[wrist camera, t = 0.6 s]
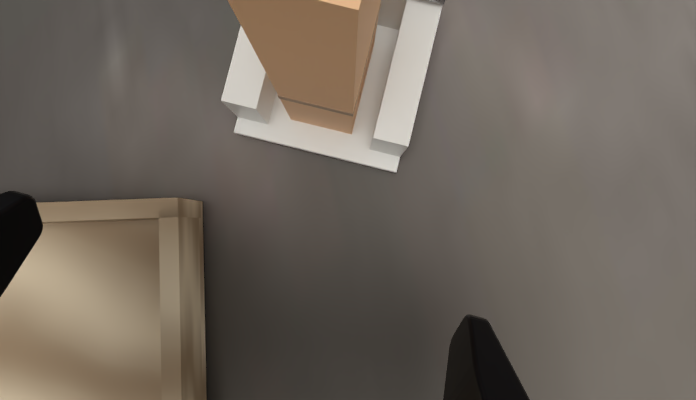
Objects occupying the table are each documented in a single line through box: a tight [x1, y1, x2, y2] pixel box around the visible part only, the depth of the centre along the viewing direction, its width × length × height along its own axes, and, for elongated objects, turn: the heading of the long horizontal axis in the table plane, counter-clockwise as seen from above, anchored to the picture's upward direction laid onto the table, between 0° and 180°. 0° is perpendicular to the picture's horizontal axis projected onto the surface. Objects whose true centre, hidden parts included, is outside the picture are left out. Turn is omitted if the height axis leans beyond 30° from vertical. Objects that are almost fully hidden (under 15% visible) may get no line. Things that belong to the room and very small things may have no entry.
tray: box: [0, 198, 207, 400], centre depth 21 cm, size 15×15×3 cm
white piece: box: [221, 0, 445, 173], centre depth 21 cm, size 8×8×4 cm
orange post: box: [228, 0, 381, 134], centre depth 16 cm, size 4×3×13 cm, turn 166°
